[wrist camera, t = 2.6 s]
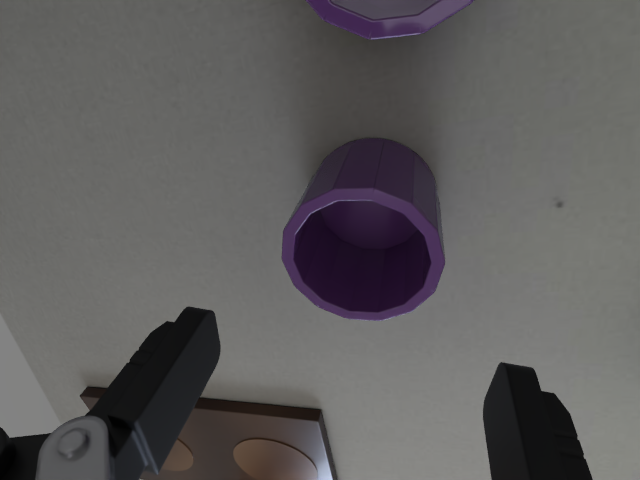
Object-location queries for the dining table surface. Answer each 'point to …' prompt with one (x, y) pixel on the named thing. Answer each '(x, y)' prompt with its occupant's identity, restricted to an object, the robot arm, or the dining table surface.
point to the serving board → (244, 443)
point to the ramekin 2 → (367, 232)
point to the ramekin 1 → (386, 15)
